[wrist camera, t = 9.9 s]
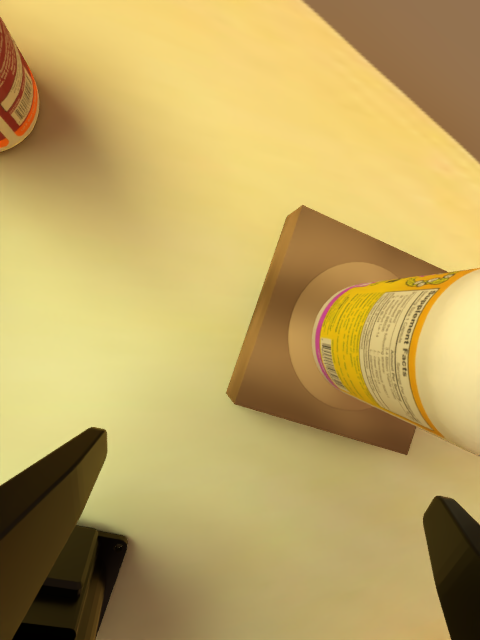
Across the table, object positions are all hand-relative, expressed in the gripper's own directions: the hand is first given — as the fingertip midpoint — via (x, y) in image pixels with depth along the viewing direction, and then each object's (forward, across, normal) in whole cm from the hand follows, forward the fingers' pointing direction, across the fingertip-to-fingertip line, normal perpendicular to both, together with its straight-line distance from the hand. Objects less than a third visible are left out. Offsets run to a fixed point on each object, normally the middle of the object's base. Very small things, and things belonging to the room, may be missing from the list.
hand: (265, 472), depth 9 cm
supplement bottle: (+12, -5, +1) cm, 13 cm away
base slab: (+14, -5, +2) cm, 15 cm away
